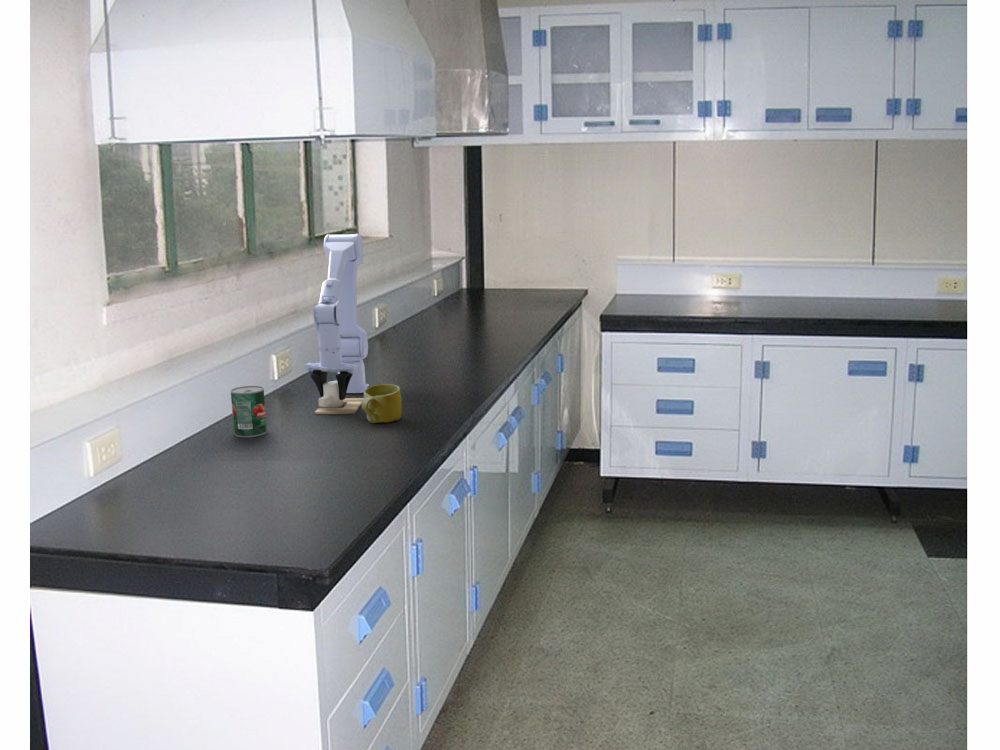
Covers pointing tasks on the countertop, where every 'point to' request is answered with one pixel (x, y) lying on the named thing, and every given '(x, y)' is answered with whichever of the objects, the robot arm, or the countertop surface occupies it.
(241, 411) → the canned tomato
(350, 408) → the dock
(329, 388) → the white piece
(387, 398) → the mug
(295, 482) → the countertop surface
